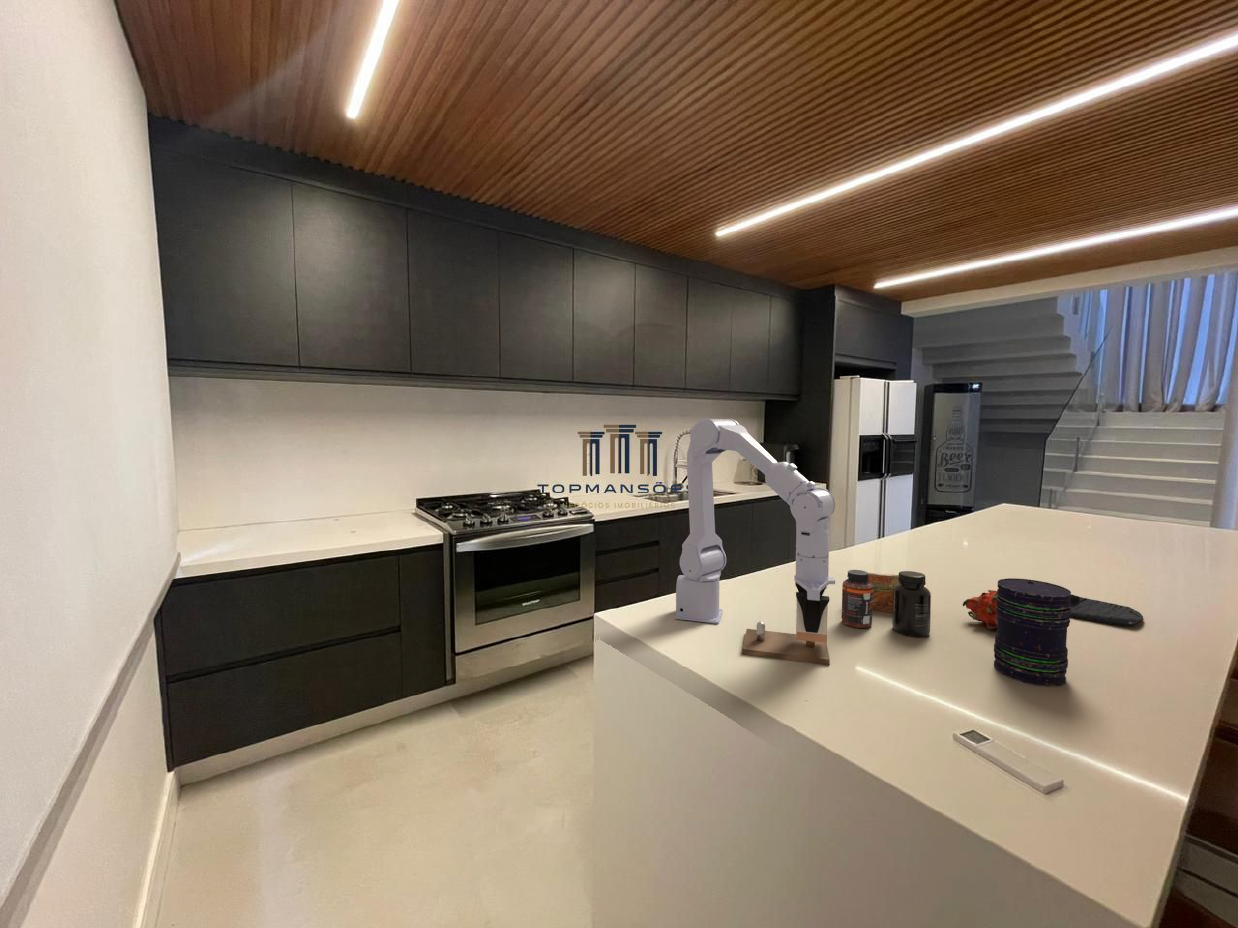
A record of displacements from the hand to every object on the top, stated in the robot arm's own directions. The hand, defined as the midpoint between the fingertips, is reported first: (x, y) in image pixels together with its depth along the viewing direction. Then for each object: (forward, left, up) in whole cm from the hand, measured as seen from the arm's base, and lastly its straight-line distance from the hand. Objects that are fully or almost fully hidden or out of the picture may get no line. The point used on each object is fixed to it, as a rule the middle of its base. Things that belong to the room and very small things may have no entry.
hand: (810, 625), depth 96 cm
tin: (+17, +28, -5) cm, 33 cm away
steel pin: (-9, 0, -4) cm, 10 cm away
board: (-5, 0, -5) cm, 7 cm away
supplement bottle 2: (+20, +16, -5) cm, 26 cm away
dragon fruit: (+37, +23, -5) cm, 44 cm away
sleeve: (0, 0, -2) cm, 2 cm away
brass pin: (0, 0, -4) cm, 4 cm away
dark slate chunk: (+58, +40, -6) cm, 71 cm away
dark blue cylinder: (+35, +2, -5) cm, 35 cm away
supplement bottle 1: (+10, +17, -5) cm, 20 cm away
